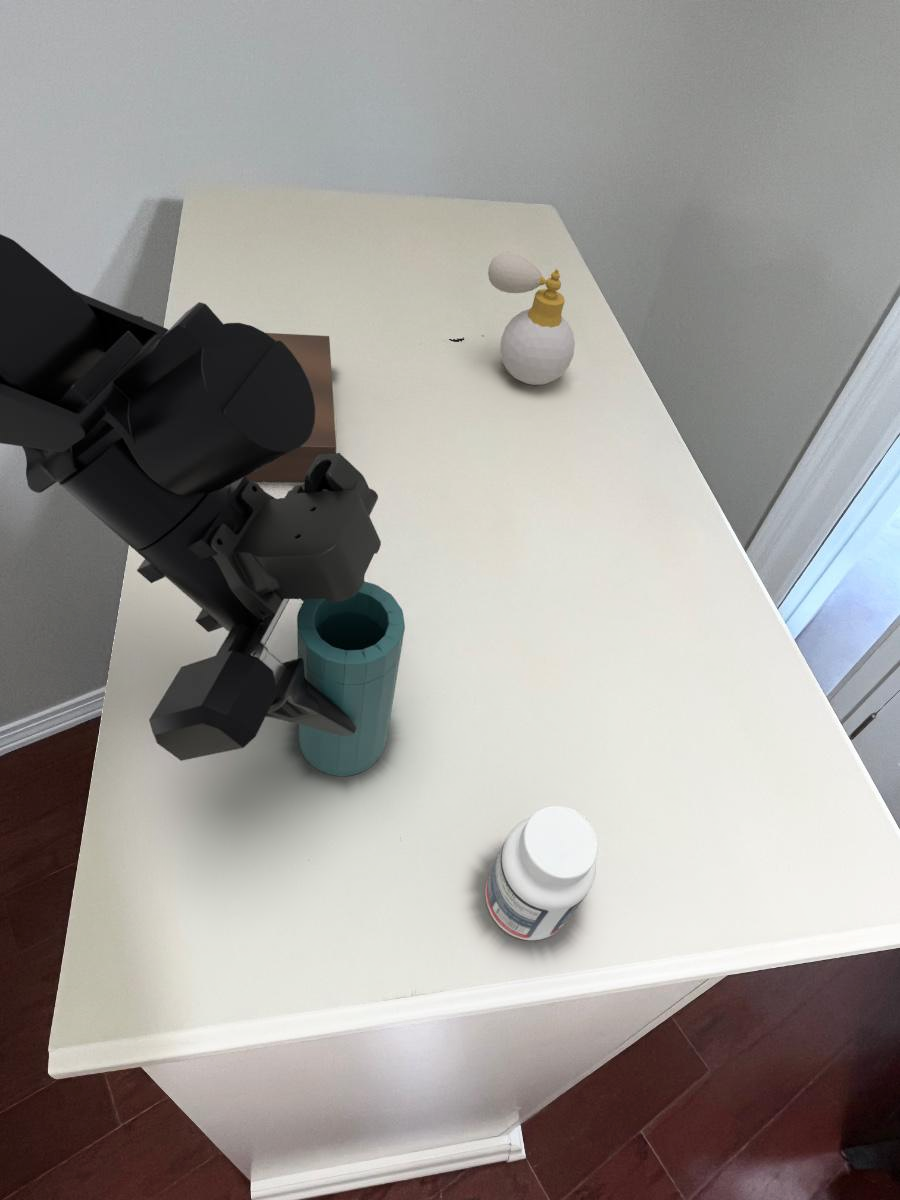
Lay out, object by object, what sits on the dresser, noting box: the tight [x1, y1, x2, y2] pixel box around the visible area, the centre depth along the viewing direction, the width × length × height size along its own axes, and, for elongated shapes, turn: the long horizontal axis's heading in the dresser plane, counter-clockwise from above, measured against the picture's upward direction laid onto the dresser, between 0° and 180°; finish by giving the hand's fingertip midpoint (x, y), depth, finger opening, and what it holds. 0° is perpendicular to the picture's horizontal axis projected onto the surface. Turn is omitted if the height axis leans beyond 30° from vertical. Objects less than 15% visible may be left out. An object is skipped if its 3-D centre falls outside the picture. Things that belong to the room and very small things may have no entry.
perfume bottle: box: [487, 252, 576, 386], centre depth 78 cm, size 8×10×12 cm
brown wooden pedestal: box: [245, 332, 337, 483], centre depth 71 cm, size 16×10×4 cm, turn 7°
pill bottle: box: [485, 805, 599, 941], centre depth 45 cm, size 5×5×9 cm
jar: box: [296, 580, 406, 777], centre depth 48 cm, size 6×6×13 cm
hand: (368, 690), depth 48 cm, fingers closed on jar, 6 cm apart
